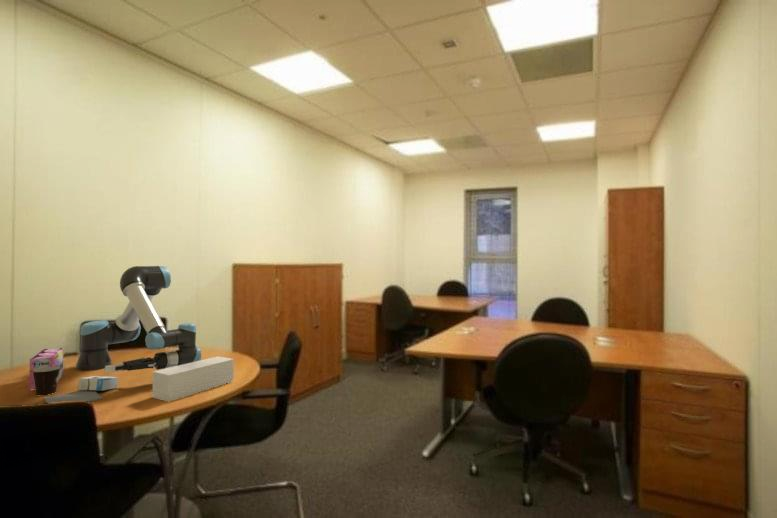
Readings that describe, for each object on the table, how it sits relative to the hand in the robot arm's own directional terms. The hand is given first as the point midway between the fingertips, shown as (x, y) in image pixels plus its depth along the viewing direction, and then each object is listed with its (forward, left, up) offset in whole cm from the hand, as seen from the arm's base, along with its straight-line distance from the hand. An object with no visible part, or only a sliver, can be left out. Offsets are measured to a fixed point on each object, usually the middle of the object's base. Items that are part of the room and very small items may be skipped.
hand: (105, 369), depth 176 cm
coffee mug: (-16, -18, -10) cm, 26 cm away
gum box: (-36, -14, -10) cm, 40 cm away
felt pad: (0, -11, -10) cm, 15 cm away
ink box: (-2, +3, -7) cm, 8 cm away
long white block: (+21, +28, -10) cm, 37 cm away
